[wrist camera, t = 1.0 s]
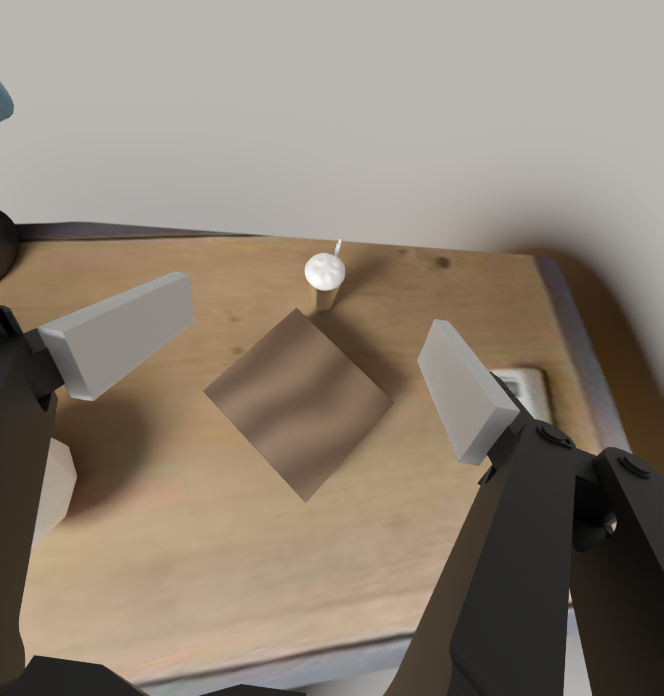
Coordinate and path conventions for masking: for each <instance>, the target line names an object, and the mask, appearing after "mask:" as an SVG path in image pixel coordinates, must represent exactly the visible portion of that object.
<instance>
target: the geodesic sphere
mask: <svg viewBox="0 0 664 696" xmlns="http://www.w3.org/2000/svg"><path fill="white" fill-rule="evenodd" d="M76 480H77V474H76V470H75V467H74V463H73V460H72V456H71V453H70V450H69V446H67V445H65V444H63V443H61V442H59V441H57V440H55V439H53V438H52V437H51V441H50V447H49V452H48V458H47V463H46V469H45V475H44V480H43V486H42V491H41V497H40V502H39V508H38V514H37V519H36V525H35V530H34V536H33V541H32V547H31V552H32V551H33V550H34V549H35V548H36V547H37V545H38V544H39V543H40V542H41V541H42V540H43V539H44V538H45V537H46V536H47V535H48V534H49V533H50V532H51V531H52V530H53V529H54V528H55V527H56V526H57V524H58V523H59V522H60V521H61V520H62V519H63V518H64V517H65V516H66V514H67V510H68V507H69V503H70V500H71V497H72V493H73V490H74V487H75V483H76Z"/></svg>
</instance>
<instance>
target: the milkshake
mask: <svg viewBox="0 0 664 696" xmlns="http://www.w3.org/2000/svg"><path fill="white" fill-rule="evenodd" d="M341 243H342V241H341V240H338V242H337V245H336V248H335V251H334V254H333V255H332V254H329V253H321V254H317V255H315V256H313V257H312V258H311V259H310V260H309V261H308V262H307V264H306V266H305V276H306V279H307V283H308V287H309V292H310V297H311V302H312V305H313V306H314V307H315V308H316V310H320V311H326V310H328V309H330V308H331V307H332V305H333V303H334V301H335V299H336V296H337V293H338V291H339V289H340V286H341V284H342V282H343V280H344V278H345V267H344V264H343V262H342V261H341V260H340V259H339V258H337V255H338V252H339V249H340V246H341Z"/></svg>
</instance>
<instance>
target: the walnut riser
mask: <svg viewBox="0 0 664 696" xmlns="http://www.w3.org/2000/svg"><path fill="white" fill-rule="evenodd" d="M203 392H204V393H205V394H206V395H207V396H208V397H209V398H210V399H211V401H212V402H213V403H214V404H215V405H216V406H217V407H218V408H219V409H220V410H221V411H222V412H223V414H224V415H225V416H226V417H227V418H228V419H229V420H230V421H231V422H232V423H233V424H234V426H235V427H236V428H237V429H238V430H239V431H240V432H241V433H242V434H243V435H244V436H245V438H246V439H247V440H248V441H249V442H250V443H251V444H252V445H253V446H254V447H255V448H256V449H257V451H258V452H259V453H260V454H261V455H262V456H263V457H264V458H265V459H266V460H267V461H268V463H269V464H270V465H271V466H272V467H273V468H274V469H275V470H276V471H277V472H278V473H279V475H280V476H281V477H282V478H283V479H284V480H285V481H286V482H287V483H288V484H289V485H290V486H291V488H292V489H293V490H294V491H295V492H296V493H297V494H298V495H299V496H300V497H301V498H302V500H303V501H304V502H305V503H306V502H307V501H308V500H309V499H310V498H311V497H312V495H313V494H314V493H315V492H316V491H317V490H318V489H319V487H320V486H321V485H322V484H323V483H324V482H325V481H326V480H327V478H328V477H329V476H330V475H331V474H332V473H333V472H334V470H335V469H336V468H337V467H338V466H339V465H340V464H341V463H342V461H343V460H344V459H345V458H346V457H347V456H348V455H349V454H350V452H351V451H352V450H353V449H354V448H355V447H356V446H357V444H358V443H359V442H360V441H361V440H362V439H363V438H364V437H365V435H366V434H367V433H368V432H369V431H370V430H371V429H372V428H373V426H374V425H375V424H376V423H377V422H378V421H379V420H380V418H381V417H382V416H383V415H384V414H385V413H386V412H387V411H388V409H389V408H390V407H391V406H392V405H393V404H394V402H393V401H392V400H391V399H390V398H389V397H388V396H387V395H386V394H385V393H384V392H383V391H382V390H381V389H380V388H379V387H378V386H377V385H376V384H375V383H374V382H373V381H372V380H371V379H369V378H368V377H367V376H366V375H365V374H364V373H363V372H362V371H361V370H360V369H359V368H358V367H357V366H356V365H355V364H354V363H353V362H352V361H351V360H350V359H349V358H348V357H347V356H346V355H345V354H344V353H343V352H342V351H341V350H340V349H339V348H338V347H337V346H335V345H334V344H333V343H332V342H331V341H330V340H329V339H328V338H327V337H326V336H325V335H324V334H323V333H322V332H321V331H320V330H319V329H318V328H317V327H316V326H315V325H314V324H313V323H312V322H311V321H310V320H309V319H308V318H307V317H306V316H305V315H304V314H303V313H301V312H300V311H299V310H298V309H297V308H296V309H294V310H293V311H292V312H291V313H290V314H289V315H288V316H287V317H286V318H284V319H283V320H282V321H281V322H280V323H279V324H278V325H277V326H275V327H274V328H273V329H272V330H271V331H270V332H269V333H268V334H266V335H265V336H264V337H263V338H262V339H261V340H260V341H259V342H257V343H256V344H255V345H254V346H253V347H252V348H251V349H250V350H248V351H247V352H246V353H245V354H244V355H243V356H242V357H241V358H239V359H238V360H237V361H236V362H235V363H234V364H233V365H232V366H230V367H229V368H228V369H227V370H226V371H225V372H224V373H223V374H221V375H220V376H219V377H218V378H217V379H216V380H215V381H214V382H212V383H211V384H210V385H209V386H208V387H207V388H206V389H205V390H203Z"/></svg>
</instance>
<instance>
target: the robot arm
mask: <svg viewBox="0 0 664 696" xmlns="http://www.w3.org/2000/svg"><path fill="white" fill-rule="evenodd" d="M13 108H14V105H13V101H12V99H11V97H10V95H9V94H8V92H7V90H6V89H5V88H4V86H3V85H2V83H1V82H0V121H3V120H5V119H7V118H9V117H10V116H11V115H12V114H13ZM18 246H19V236H18V231H17V228H16V226H15V224H14V223H13V221H12V220H11V219H10V218H9V217H8V216H7V215H6V214H5V213H3V212H2V211H0V278H1V277H2V276H3V275H4V274H5V273H6V271H7V270H8V269H9V268H10V266H11V265H12V263H13V261H14V259H15V257H16V254H17V251H18ZM194 322H195V317H194V309H193V301H192V294H191V286H190V278H189V274H185V273H180V272H172V273H169V274H167V275H164V276H162V277H159V278H157V279H154V280H152V281H150V282H147V283H145V284H142V285H140V286H137V287H135V288H132V289H130V290H127V291H125V292H122V293H120V294H117V295H115V296H112V297H110V298H107V299H105V300H102V301H100V302H98V303H95V304H93V305H90V306H88V307H85V308H83V309H80V310H78V311H75V312H73V313H70V314H68V315H65V316H63V317H60V318H58V319H55V320H53V321H50V322H48V323H46V324H43V325H41V326H38V327H36V329H33V330H31V331H28V332H26V333H23V332H22V330H21V328H20V326H19V324H18V322H17V320H16V319H15V317H14V315H13V313H12V311H11V309H10V308H8V307H6V306H2V305H0V696H149V695H148V694H147V693H145V692H144V691H142V690H141V689H139V688H138V687H136V686H135V685H133V684H132V683H130V682H128V681H127V680H125V679H124V678H122V677H121V676H119V675H118V674H116V673H114V672H113V671H111V670H110V669H108V668H107V667H105V666H104V665H100V664H93V663H86V662H79V661H72V660H65V659H58V658H50V657H43V656H36V655H34V657H33V658H32V659H31V661H30V662H29V664H28V665H27V667H26V668H25V651H24V645H23V642H22V639H21V636H20V632H19V614H20V608H21V603H22V597H23V592H24V586H25V580H26V575H27V569H28V564H29V558H30V553H31V547H32V541H33V536H34V530H35V525H36V519H37V514H38V508H39V502H40V497H41V491H42V486H43V480H44V475H45V469H46V463H47V458H48V452H49V447H50V441H51V436H52V430H53V424H54V419H55V413H56V408H57V402H58V398H57V395H56V393H55V391H54V390H56V389H57V388H59V387H60V386H62V385H64V384H65V386H66V388H67V390H68V392H69V394H70V396H71V398H77V399H83V400H89V401H94V400H95V399H97V398H98V397H99V396H100V395H102V394H103V393H104V392H106V391H107V390H108V389H109V388H111V387H112V386H113V385H115V384H116V383H117V382H118V381H120V380H121V379H122V378H124V377H125V376H126V375H127V374H129V373H130V372H131V371H133V370H134V369H135V368H136V367H138V366H139V365H140V364H142V363H143V362H144V361H145V360H147V359H148V358H149V357H151V356H152V355H153V354H154V353H156V352H157V351H158V350H160V349H161V348H162V347H163V346H165V345H166V344H167V343H169V342H170V341H171V340H172V339H174V338H175V337H176V336H177V335H179V334H180V333H181V332H183V331H184V330H185V329H186V328H188V327H189V326H190V325H192V324H193V323H194ZM417 362H418V364H419V367H420V369H421V372H422V374H423V376H424V379H425V381H426V384H427V386H428V389H429V391H430V394H431V396H432V398H433V401H434V403H435V406H436V408H437V411H438V413H439V416H440V418H441V421H442V423H443V425H444V428H445V430H446V433H447V435H448V438H449V440H450V443H451V445H452V448H453V450H454V452H455V455H456V457H457V460H458V462H461V463H467V464H473V465H480V463H481V462H482V461H483V459H484V458H485V457H486V456H487V455H488V457H489V459H490V461H491V462H492V466H491V467H490V468H489V469H488V471H487V472H486V473H485V474H484V476H483V477H482V478H481V479H480V481H479V482H478V484H479V485H481V486H480V488H479V491H478V493H477V495H476V497H475V500H474V502H473V504H472V506H471V509H470V511H469V513H468V515H467V518H466V520H465V522H464V524H463V527H462V529H461V531H460V533H459V535H458V538H457V540H456V542H455V544H454V547H453V549H452V551H451V553H450V556H449V558H448V560H447V562H446V565H445V567H444V569H443V571H442V573H441V576H440V578H439V580H438V582H437V585H436V587H435V589H434V591H433V594H432V596H431V598H430V600H429V603H428V605H427V607H426V609H425V611H424V614H423V616H422V618H421V620H420V623H419V625H418V627H417V629H416V632H415V634H414V636H413V638H412V641H411V643H410V645H409V647H408V650H407V652H406V654H405V656H404V658H403V661H402V663H401V665H400V667H399V670H398V672H397V674H396V676H395V678H394V679H393V681H392V683H391V685H390V686H389V688H388V689H387V691H386V692H385V694H384V695H383V696H563V689H564V671H565V653H566V635H567V617H568V599H569V588H570V593H571V598H572V602H573V607H574V612H575V616H576V621H577V626H578V630H579V635H580V639H581V644H582V649H583V654H584V658H585V663H586V668H587V672H588V677H589V682H590V687H591V691H592V696H664V479H663V478H662V476H661V475H660V474H659V473H658V472H657V471H656V470H655V469H653V468H652V467H651V466H650V465H649V464H648V463H647V462H645V461H644V460H641V458H639V457H637V456H636V455H633V454H630V453H628V452H626V451H624V450H621V449H618V448H615V447H607V448H606V449H604V450H603V451H602V452H601V453H600V454H599V455H598V456H595V455H593V454H590V453H588V452H585V451H582V450H580V449H577V448H576V446H575V444H574V443H573V441H572V440H571V439H570V438H569V437H568V436H567V435H566V434H565V433H563V432H562V431H561V430H559V429H558V428H556V427H554V426H553V425H551V424H548V423H546V422H544V421H540V420H536V419H534V418H533V417H532V416H531V414H530V413H529V412H528V411H527V410H526V408H525V407H524V406H523V405H522V404H521V402H520V401H519V400H518V399H517V398H516V397H515V395H514V394H513V393H512V392H511V390H509V388H508V387H507V386H506V384H505V383H504V382H503V381H502V380H501V379H500V378H498V377H497V376H496V375H494V374H493V373H492V372H489V371H488V370H487V369H486V368H485V366H484V365H483V364H482V363H481V361H480V360H479V359H478V358H477V356H476V355H475V354H474V353H473V351H472V350H471V349H470V348H469V346H468V345H467V344H466V343H465V341H464V340H463V339H462V338H461V336H460V335H459V334H458V333H457V331H456V330H455V329H454V328H453V326H452V325H451V324H450V323H449V321H444V320H439V319H434V321H433V324H432V326H431V329H430V331H429V334H428V336H427V338H426V341H425V343H424V346H423V348H422V351H421V353H420V355H419V358H418V360H417ZM616 521H617V524H616V528H615V531H613V529H612V526H611V525H612V524H613V523H615V522H616ZM200 696H306V693H301V692H294V691H287V690H279V689H272V688H265V687H258V686H251V685H244V684H240V685H236V686H233V687H229V688H225V689H222V690H218V691H215V692H211V693H208V694H204V695H200Z"/></svg>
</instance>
